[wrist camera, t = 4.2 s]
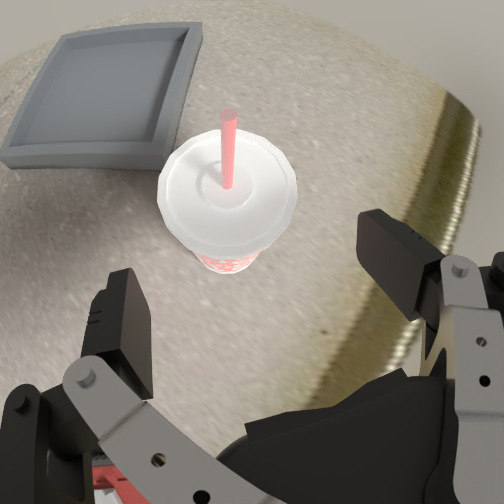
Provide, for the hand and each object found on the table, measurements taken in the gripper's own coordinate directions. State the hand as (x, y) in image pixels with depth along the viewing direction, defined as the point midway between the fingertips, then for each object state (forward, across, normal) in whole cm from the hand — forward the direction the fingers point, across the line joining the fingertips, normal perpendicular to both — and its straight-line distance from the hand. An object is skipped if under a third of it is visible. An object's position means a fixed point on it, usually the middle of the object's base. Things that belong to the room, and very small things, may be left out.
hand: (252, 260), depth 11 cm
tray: (+22, +8, -7) cm, 24 cm away
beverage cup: (+10, 0, +5) cm, 12 cm away
